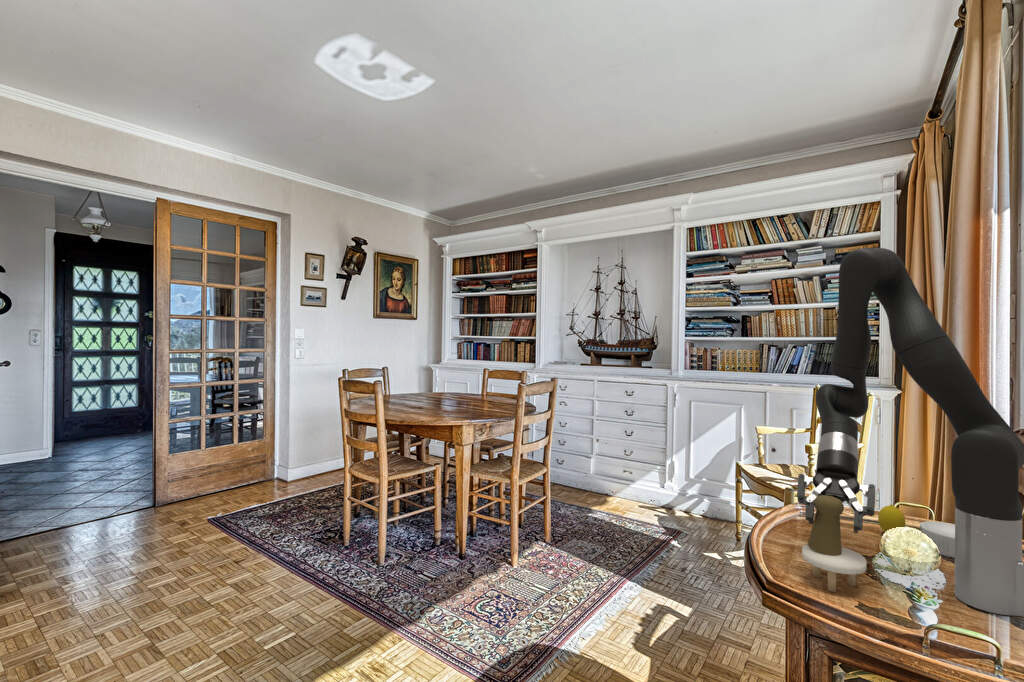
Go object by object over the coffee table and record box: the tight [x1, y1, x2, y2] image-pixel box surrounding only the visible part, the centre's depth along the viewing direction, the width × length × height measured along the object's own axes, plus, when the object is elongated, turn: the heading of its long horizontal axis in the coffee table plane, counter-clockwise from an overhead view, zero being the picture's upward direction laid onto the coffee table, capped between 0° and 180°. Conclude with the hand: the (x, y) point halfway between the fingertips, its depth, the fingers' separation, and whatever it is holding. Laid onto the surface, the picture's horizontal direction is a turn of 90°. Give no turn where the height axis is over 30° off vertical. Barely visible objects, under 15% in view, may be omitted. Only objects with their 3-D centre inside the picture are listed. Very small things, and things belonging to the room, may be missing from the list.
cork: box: [807, 495, 845, 556], centre depth 103 cm, size 6×6×11 cm
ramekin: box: [919, 520, 955, 559], centre depth 117 cm, size 11×11×5 cm
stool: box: [801, 543, 867, 593], centre depth 101 cm, size 11×11×6 cm
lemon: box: [877, 504, 907, 532], centre depth 126 cm, size 6×6×8 cm
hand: (832, 526), depth 100 cm, fingers open, 7 cm apart
